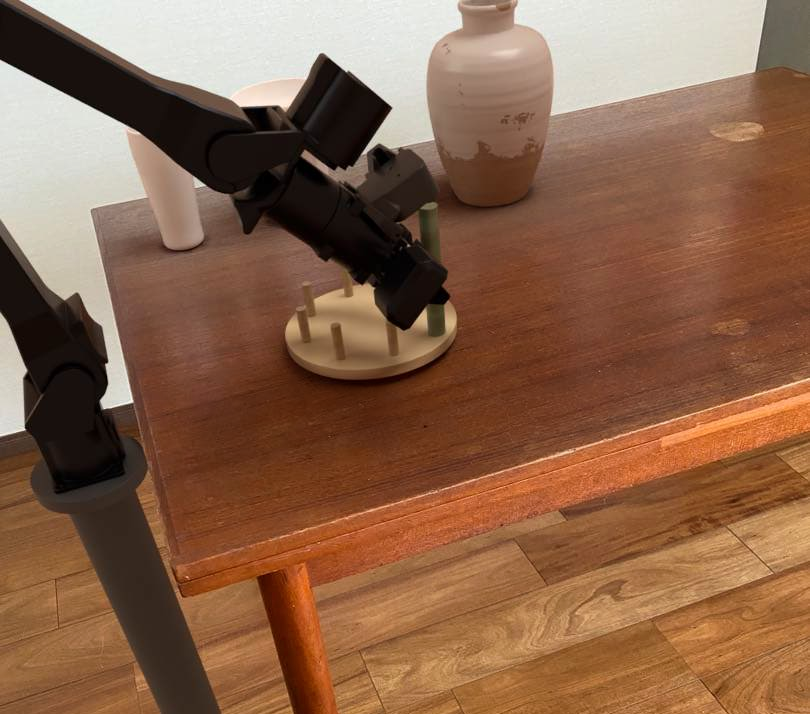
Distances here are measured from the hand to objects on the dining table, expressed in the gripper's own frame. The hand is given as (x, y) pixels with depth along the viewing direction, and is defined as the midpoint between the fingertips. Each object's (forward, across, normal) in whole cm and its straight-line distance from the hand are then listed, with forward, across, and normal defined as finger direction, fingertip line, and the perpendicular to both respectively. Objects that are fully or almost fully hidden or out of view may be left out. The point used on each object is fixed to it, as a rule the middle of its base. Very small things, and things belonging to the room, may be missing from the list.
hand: (446, 299), depth 85 cm
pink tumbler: (-9, +44, +19) cm, 48 cm away
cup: (+2, +44, +7) cm, 45 cm away
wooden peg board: (+1, +8, +9) cm, 12 cm away
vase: (+20, +36, -10) cm, 43 cm away
